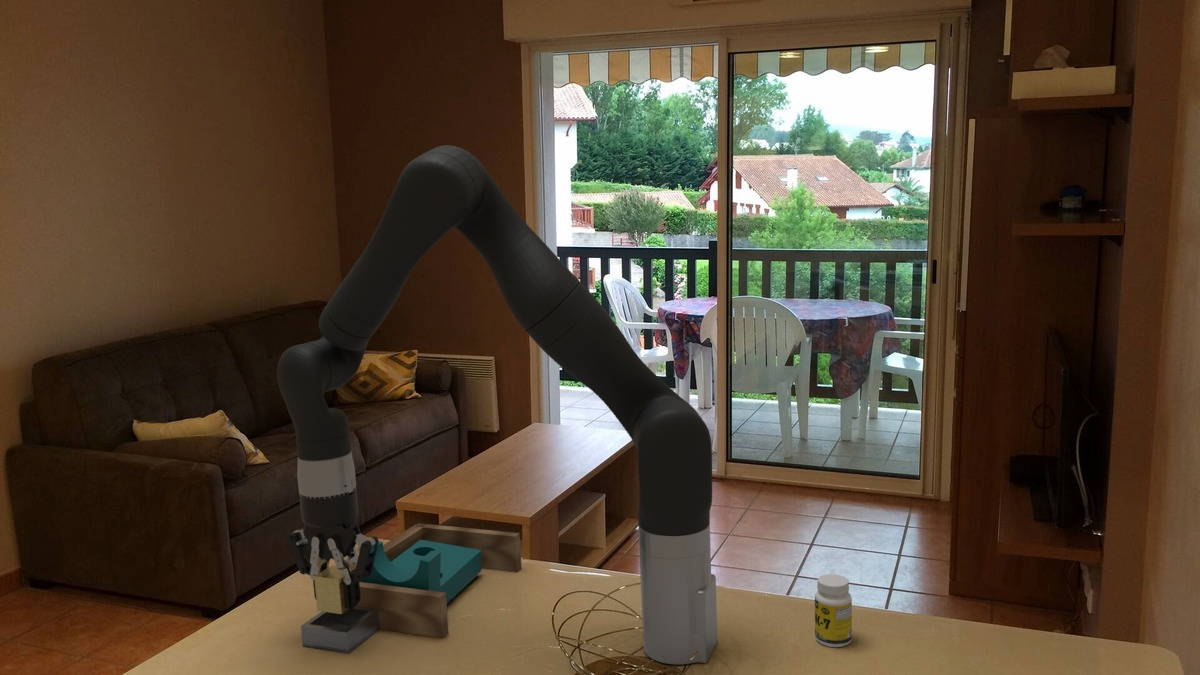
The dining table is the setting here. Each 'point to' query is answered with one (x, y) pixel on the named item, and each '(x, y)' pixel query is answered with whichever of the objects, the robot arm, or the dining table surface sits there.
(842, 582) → the supplement bottle
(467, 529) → the bracket
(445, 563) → the teal l-shaped bracket
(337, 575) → the key block
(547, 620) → the dining table surface
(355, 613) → the tray
